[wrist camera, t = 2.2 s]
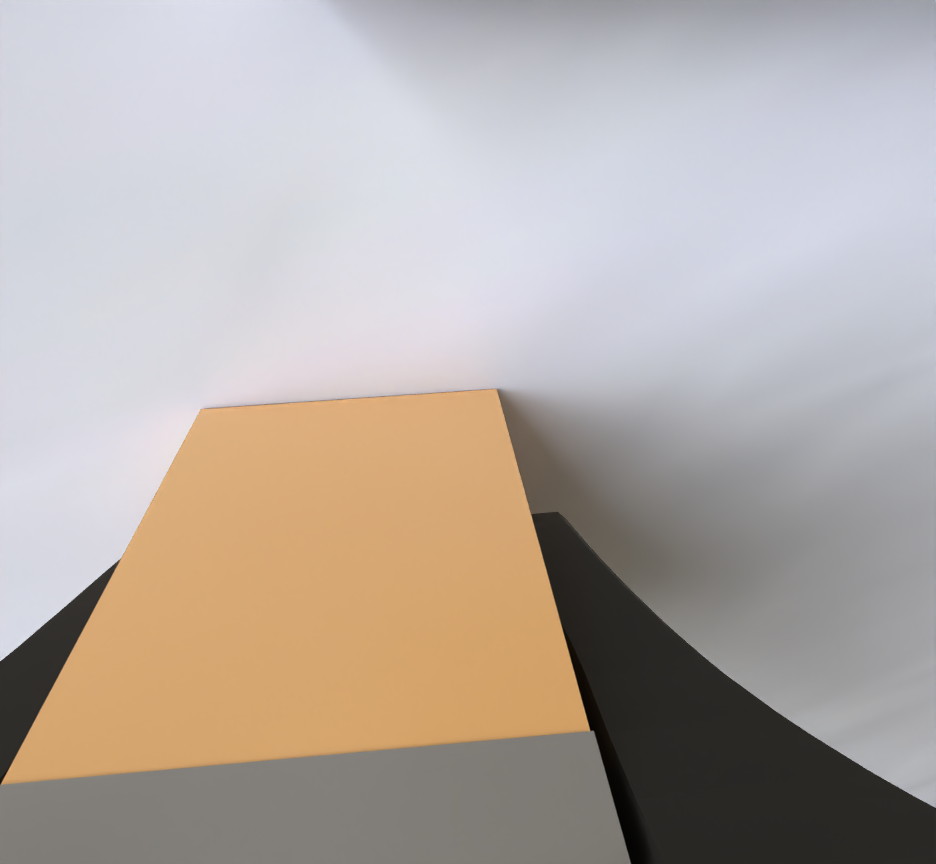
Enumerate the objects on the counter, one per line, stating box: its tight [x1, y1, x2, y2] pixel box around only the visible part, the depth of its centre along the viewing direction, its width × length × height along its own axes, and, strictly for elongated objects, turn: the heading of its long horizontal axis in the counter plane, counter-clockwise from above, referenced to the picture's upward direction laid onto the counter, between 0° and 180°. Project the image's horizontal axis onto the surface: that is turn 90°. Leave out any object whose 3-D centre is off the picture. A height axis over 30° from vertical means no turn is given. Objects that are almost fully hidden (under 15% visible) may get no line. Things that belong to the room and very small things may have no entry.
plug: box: [0, 389, 631, 864], centre depth 9 cm, size 4×4×7 cm
